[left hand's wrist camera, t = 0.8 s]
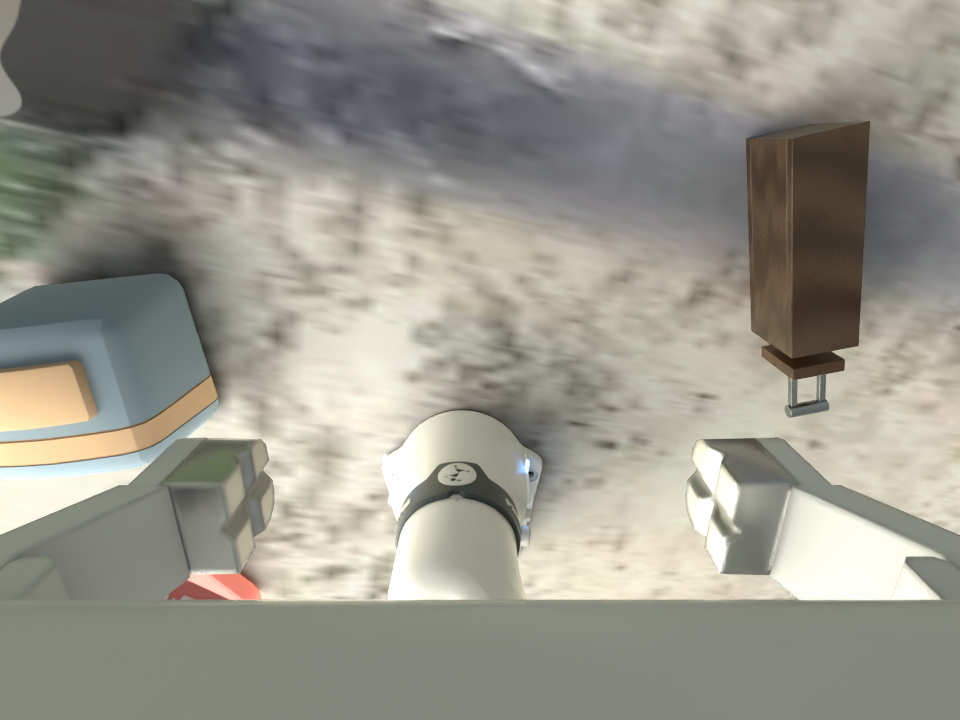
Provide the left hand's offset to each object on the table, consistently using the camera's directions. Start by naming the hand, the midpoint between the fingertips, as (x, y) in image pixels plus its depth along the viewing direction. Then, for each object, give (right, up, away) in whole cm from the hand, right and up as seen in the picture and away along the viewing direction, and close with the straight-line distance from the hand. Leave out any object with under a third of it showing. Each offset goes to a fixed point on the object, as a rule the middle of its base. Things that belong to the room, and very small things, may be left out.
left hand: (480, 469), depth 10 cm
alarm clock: (-37, +3, +48) cm, 61 cm away
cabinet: (+30, +15, +43) cm, 55 cm away
